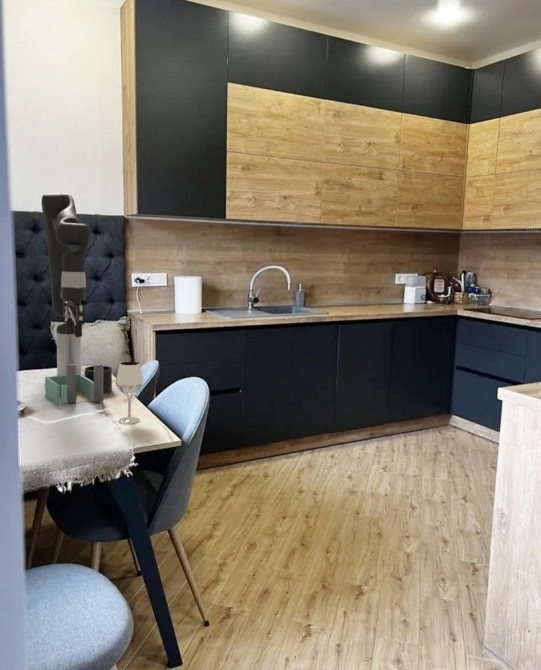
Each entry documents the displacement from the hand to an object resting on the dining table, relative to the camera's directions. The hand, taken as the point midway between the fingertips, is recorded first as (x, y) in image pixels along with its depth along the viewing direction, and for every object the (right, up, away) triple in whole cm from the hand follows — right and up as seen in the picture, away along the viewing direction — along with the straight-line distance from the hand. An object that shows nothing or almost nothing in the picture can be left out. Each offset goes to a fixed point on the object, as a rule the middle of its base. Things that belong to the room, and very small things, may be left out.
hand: (73, 335), depth 182 cm
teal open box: (-5, -22, +9) cm, 25 cm away
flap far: (+6, -22, +5) cm, 24 cm away
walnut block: (-6, -21, +10) cm, 24 cm away
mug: (+1, -21, +21) cm, 30 cm away
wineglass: (+21, -27, -12) cm, 36 cm away
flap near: (-3, -23, +2) cm, 23 cm away
